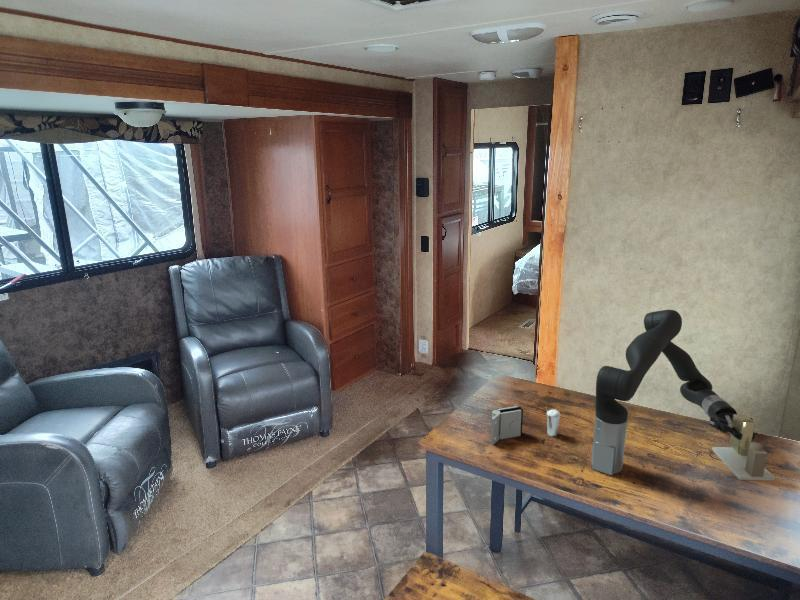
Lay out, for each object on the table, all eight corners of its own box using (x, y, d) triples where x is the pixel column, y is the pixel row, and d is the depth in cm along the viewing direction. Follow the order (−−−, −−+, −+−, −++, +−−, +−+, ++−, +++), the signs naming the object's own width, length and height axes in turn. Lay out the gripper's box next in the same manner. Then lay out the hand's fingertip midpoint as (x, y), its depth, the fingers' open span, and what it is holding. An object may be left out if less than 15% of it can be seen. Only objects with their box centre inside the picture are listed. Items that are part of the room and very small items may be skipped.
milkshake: (546, 428, 192) (548, 403, 189) (560, 433, 188) (562, 408, 186) (541, 434, 188) (542, 408, 186) (555, 438, 185) (557, 413, 182)
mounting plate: (712, 449, 176) (716, 422, 173) (743, 450, 176) (748, 422, 173) (739, 479, 160) (744, 450, 158) (774, 480, 160) (780, 451, 157)
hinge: (492, 445, 182) (492, 419, 179) (482, 438, 187) (483, 412, 184) (523, 435, 188) (524, 409, 185) (514, 428, 193) (514, 403, 190)
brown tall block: (729, 444, 172) (734, 414, 169) (739, 444, 172) (745, 414, 169) (740, 456, 166) (745, 424, 163) (751, 456, 166) (757, 424, 163)
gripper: (698, 400, 181) (725, 426, 165) (741, 400, 180) (772, 426, 164) (695, 419, 183) (721, 447, 167) (738, 420, 182) (768, 447, 166)
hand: (746, 436), depth 165 cm, fingers closed on brown tall block, 3 cm apart
